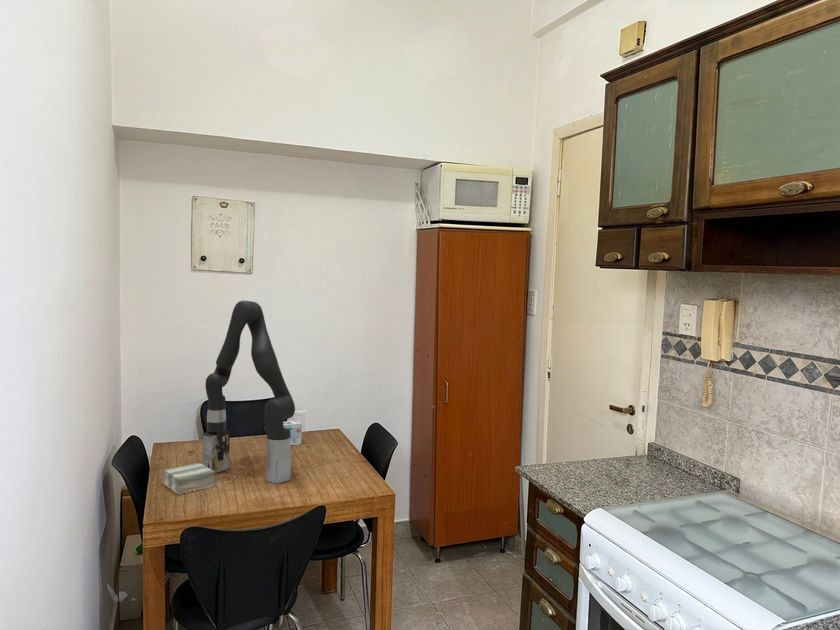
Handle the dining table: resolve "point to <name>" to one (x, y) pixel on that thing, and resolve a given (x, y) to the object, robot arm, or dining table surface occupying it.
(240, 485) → the dining table surface
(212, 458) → the coffee box
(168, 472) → the tower base
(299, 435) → the light bulb box
